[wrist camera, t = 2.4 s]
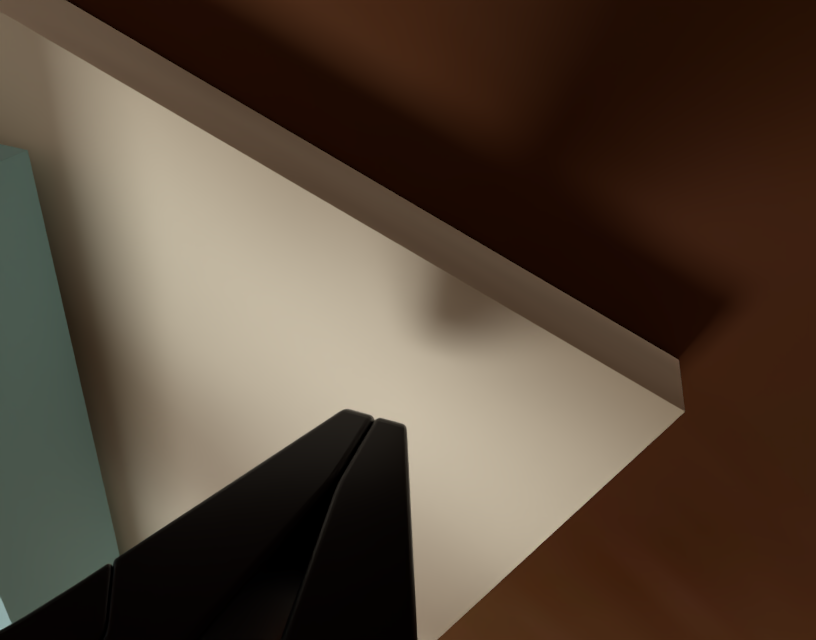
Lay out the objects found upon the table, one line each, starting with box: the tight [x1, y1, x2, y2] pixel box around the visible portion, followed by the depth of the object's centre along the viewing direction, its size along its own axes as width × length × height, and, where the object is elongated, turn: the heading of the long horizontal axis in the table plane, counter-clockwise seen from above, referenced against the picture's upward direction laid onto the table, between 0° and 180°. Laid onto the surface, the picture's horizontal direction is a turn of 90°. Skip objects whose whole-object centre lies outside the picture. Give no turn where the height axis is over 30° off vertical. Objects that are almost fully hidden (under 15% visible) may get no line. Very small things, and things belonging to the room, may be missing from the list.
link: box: [0, 144, 120, 630], centre depth 14 cm, size 21×5×2 cm, turn 174°
